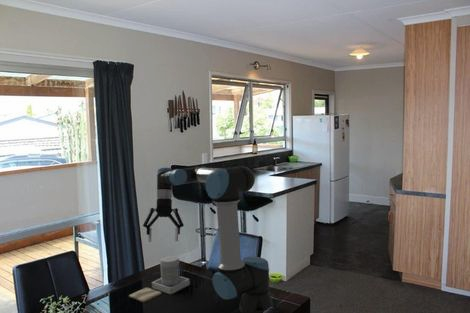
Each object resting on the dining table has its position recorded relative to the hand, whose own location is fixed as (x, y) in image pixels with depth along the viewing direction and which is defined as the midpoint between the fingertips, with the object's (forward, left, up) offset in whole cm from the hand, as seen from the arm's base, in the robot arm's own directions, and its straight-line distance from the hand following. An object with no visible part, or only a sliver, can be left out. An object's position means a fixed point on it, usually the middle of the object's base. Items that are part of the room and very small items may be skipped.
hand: (163, 241), depth 198 cm
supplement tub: (+1, -5, -26) cm, 26 cm away
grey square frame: (+1, -5, -25) cm, 26 cm away
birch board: (+4, +9, -25) cm, 27 cm away
